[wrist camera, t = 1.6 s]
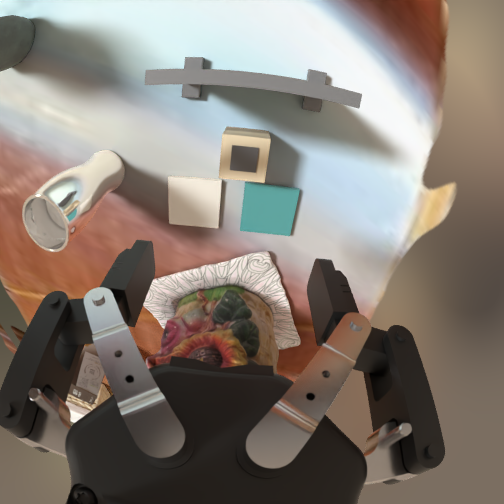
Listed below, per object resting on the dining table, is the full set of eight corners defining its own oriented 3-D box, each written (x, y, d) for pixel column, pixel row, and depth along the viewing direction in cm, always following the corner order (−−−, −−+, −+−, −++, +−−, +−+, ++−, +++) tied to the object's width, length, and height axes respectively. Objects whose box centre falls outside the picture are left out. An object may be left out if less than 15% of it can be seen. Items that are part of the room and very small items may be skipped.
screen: (187, 57, 25) (147, 47, 15) (324, 73, 26) (366, 71, 16) (183, 96, 28) (143, 108, 18) (318, 111, 29) (354, 131, 19)
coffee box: (94, 322, 52) (69, 382, 39) (119, 335, 55) (98, 396, 41) (89, 339, 57) (67, 393, 44) (111, 351, 59) (92, 406, 46)
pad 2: (245, 181, 35) (245, 183, 34) (299, 188, 35) (299, 190, 35) (240, 228, 39) (239, 230, 38) (289, 233, 39) (289, 236, 39)
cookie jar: (302, 339, 54) (319, 494, 28) (194, 358, 58) (177, 494, 32) (268, 242, 40) (282, 489, 14) (132, 280, 45) (68, 457, 19)
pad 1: (169, 175, 34) (168, 177, 34) (222, 179, 35) (221, 181, 34) (170, 221, 38) (169, 223, 38) (218, 226, 39) (218, 228, 38)
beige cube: (226, 126, 31) (222, 134, 26) (268, 130, 31) (270, 139, 27) (223, 165, 34) (218, 179, 29) (262, 169, 34) (264, 184, 30)
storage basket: (63, 382, 77) (52, 414, 65) (47, 360, 68) (33, 395, 56) (117, 400, 79) (108, 435, 67) (106, 381, 70) (94, 421, 58)
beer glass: (133, 155, 32) (71, 206, 20) (122, 199, 36) (69, 263, 24) (91, 140, 31) (20, 184, 18) (83, 184, 34) (22, 240, 22)
